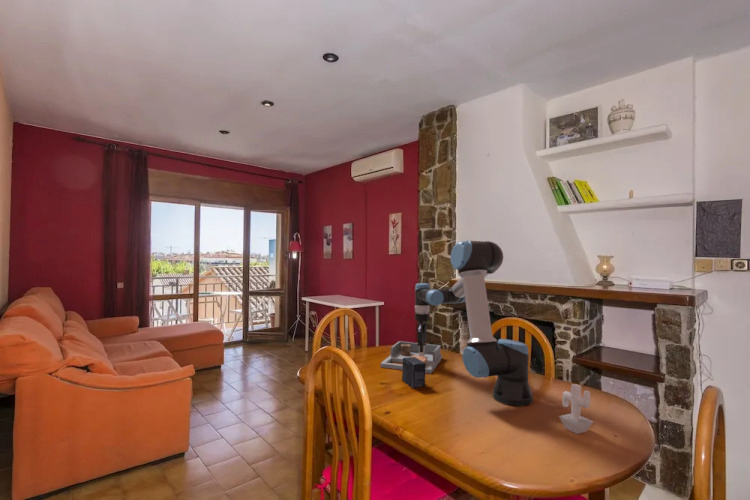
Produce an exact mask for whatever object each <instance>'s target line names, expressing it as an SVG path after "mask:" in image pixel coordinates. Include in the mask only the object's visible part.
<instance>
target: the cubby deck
mask: <svg viewBox="0 0 750 500" xmlns="http://www.w3.org/2000/svg"><path fill="white" fill-rule="evenodd" d="M401 344H410V356H408V355H401ZM425 344H426V345H425V357H428V363H427V364H426V366H425V374H432V373H433V372H434V370H435V369H436V368H437V366H438V365H439V363H440V362H441V361H442V360H443V354H441V345H440V344H432V343H431V344H429V343H425ZM412 355H414V356H419V346H418V342H411V341H410V342H409V341H402V340H400V341H399V340H398V341H397V342H396V343H395V344H393V345H391V347H390V355H389V356H388V357H386V358H385V359H384V360H383V361H382V362H380V368H383V369H384V368H385V369H391V368H392V370H400V371H403V358H409V357H411V356H412ZM399 363H400V364H399Z"/></svg>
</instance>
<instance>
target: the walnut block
mask: <svg viewBox="0 0 750 500" xmlns="http://www.w3.org/2000/svg"><path fill="white" fill-rule="evenodd" d="M401 355H408V356H410V344H401Z"/></svg>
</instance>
